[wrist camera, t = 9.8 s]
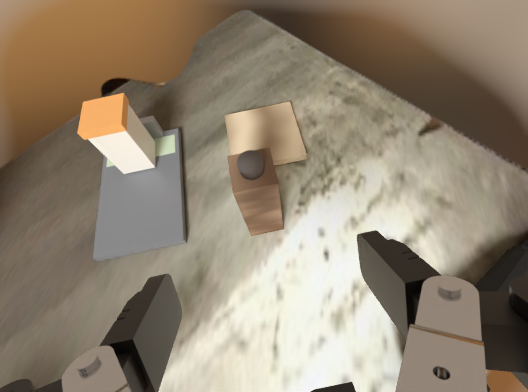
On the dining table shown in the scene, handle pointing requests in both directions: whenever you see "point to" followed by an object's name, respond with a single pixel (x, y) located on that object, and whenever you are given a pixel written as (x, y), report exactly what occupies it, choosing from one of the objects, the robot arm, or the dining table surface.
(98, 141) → the orange-capped white pillar
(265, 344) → the dining table surface
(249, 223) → the pepper mill
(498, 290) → the microphone
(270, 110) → the coaster
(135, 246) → the panel
